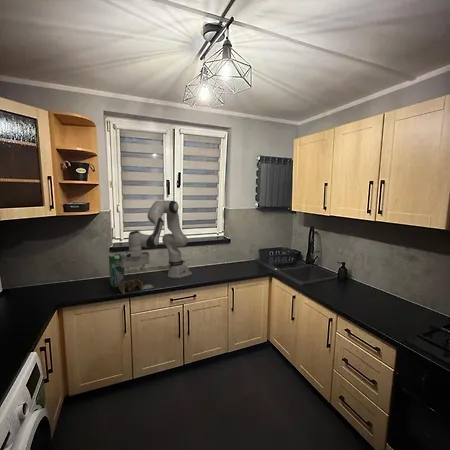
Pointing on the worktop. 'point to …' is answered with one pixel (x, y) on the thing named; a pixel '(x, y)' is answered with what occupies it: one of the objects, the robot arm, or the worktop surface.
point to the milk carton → (116, 270)
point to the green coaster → (147, 286)
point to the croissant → (123, 285)
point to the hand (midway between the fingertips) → (135, 271)
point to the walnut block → (130, 285)
